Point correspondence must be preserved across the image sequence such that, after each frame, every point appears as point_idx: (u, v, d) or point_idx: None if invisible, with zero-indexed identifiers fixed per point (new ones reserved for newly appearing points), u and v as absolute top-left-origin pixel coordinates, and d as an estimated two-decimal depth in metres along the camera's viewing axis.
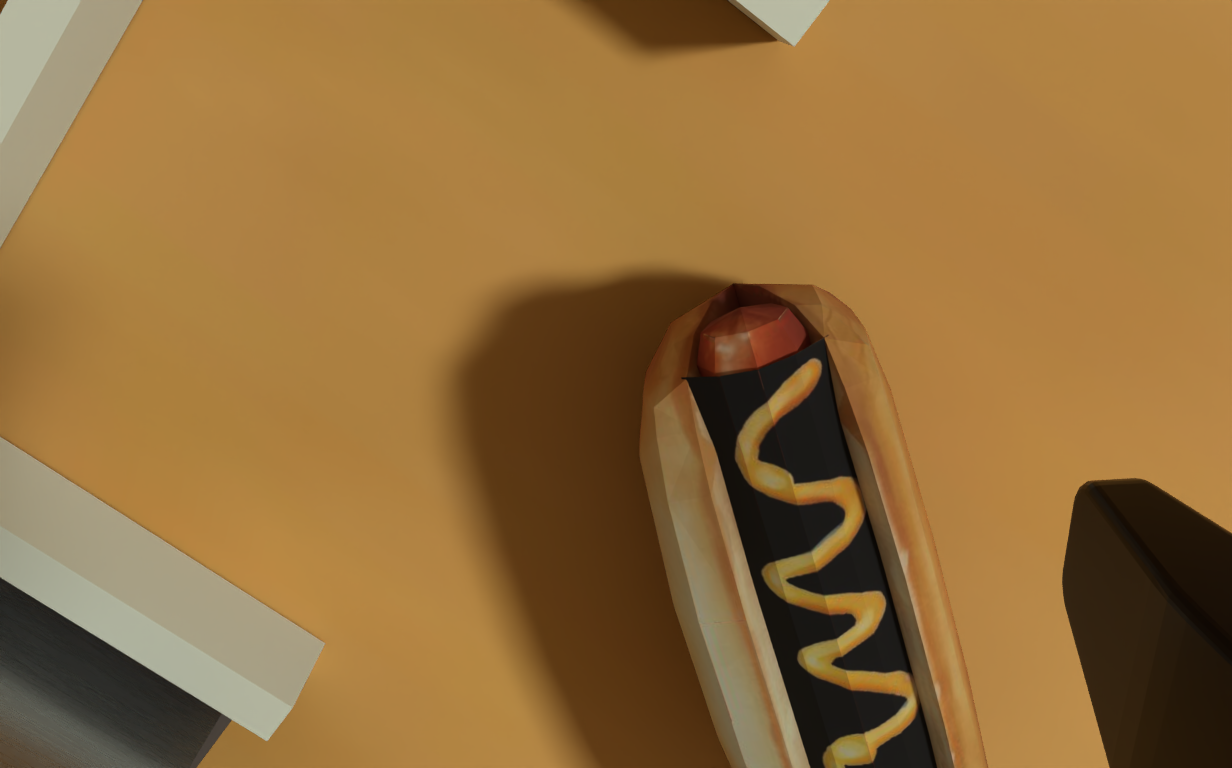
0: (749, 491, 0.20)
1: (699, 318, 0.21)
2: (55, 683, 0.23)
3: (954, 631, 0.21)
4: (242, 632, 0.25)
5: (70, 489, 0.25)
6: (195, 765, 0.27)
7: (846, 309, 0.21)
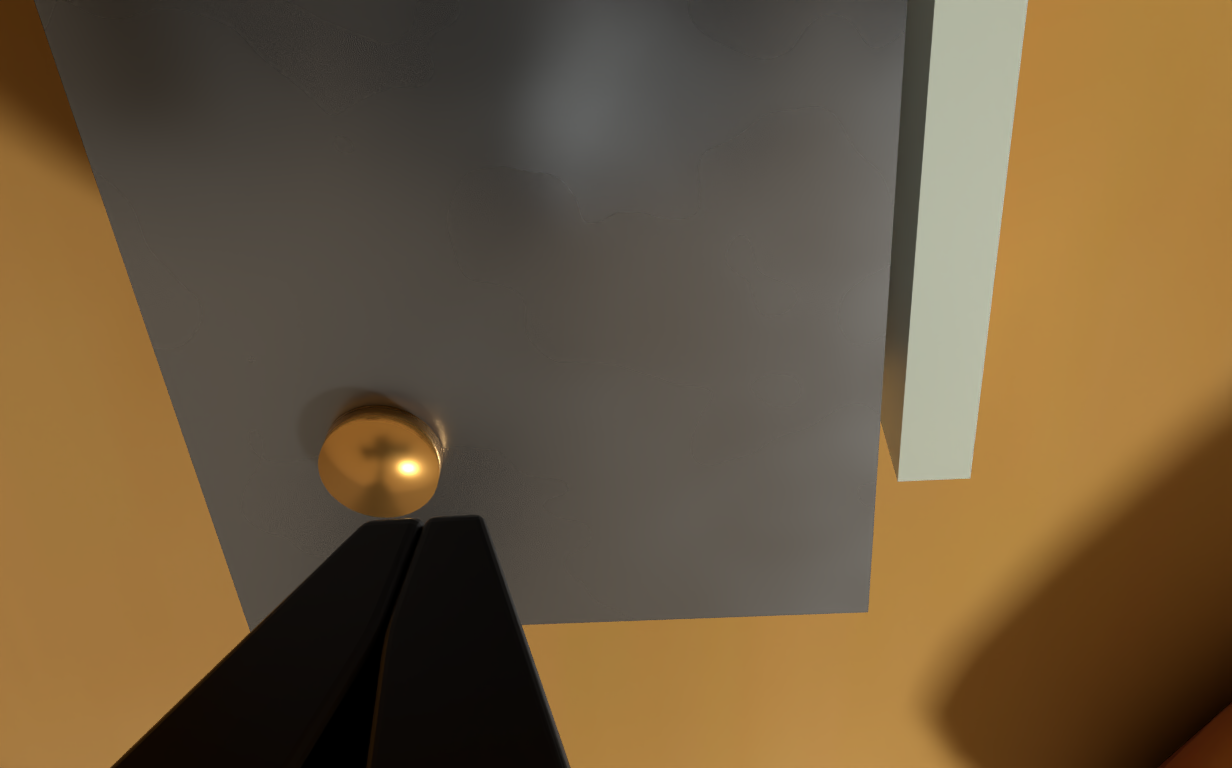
0: None
1: None
2: None
3: None
4: None
5: None
6: None
7: None
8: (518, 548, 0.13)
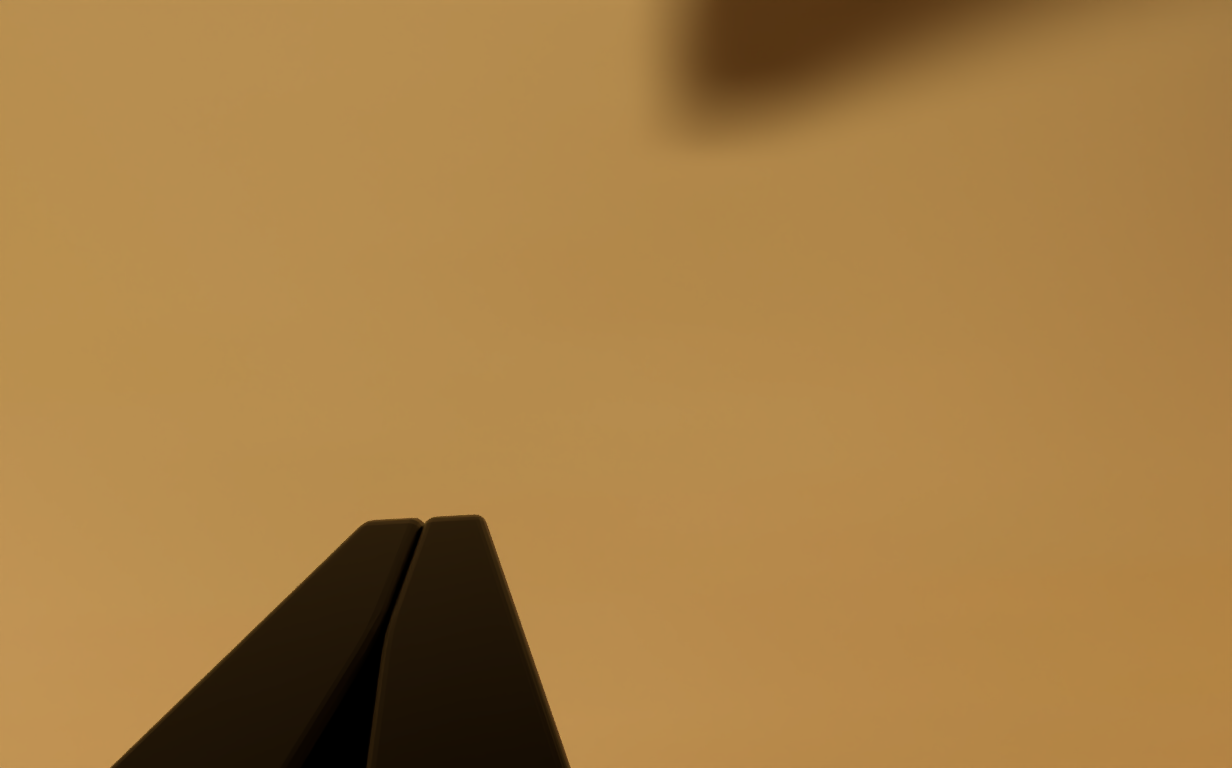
0: None
1: None
2: None
3: None
4: None
5: None
6: None
7: None
8: None
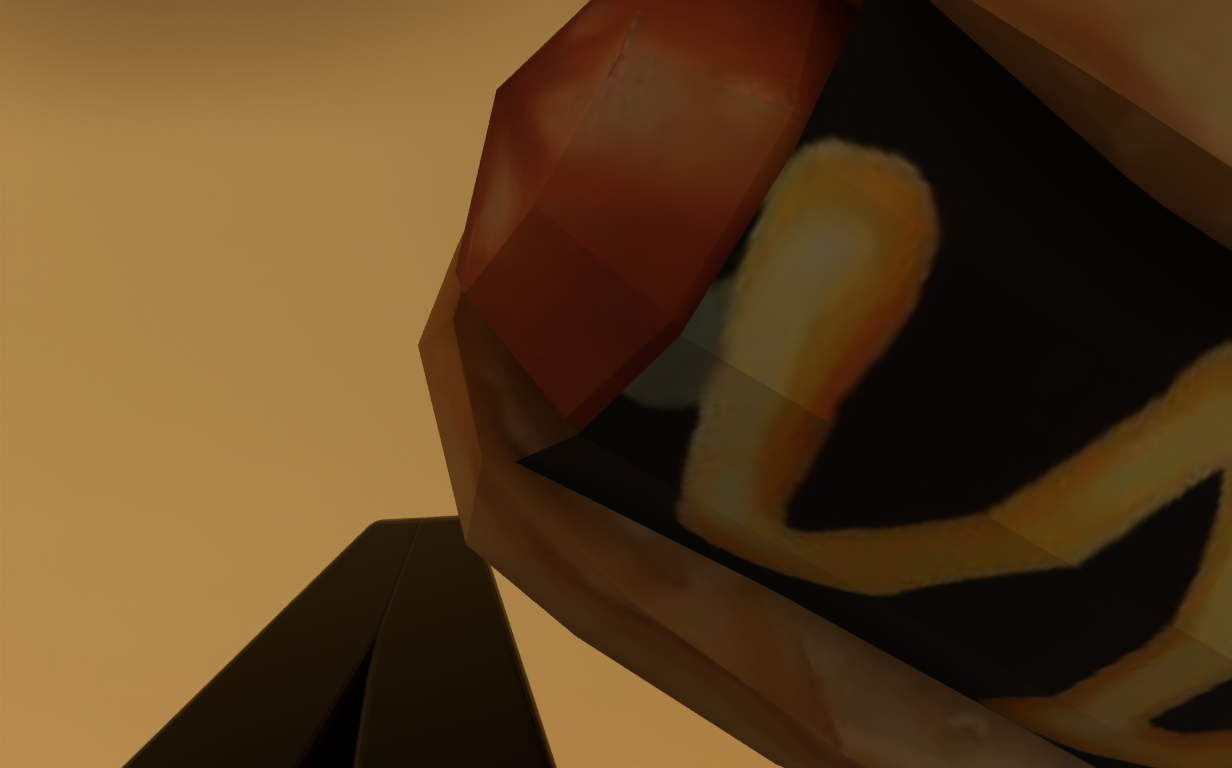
0: None
1: None
2: None
3: None
4: None
5: None
6: None
7: None
8: None
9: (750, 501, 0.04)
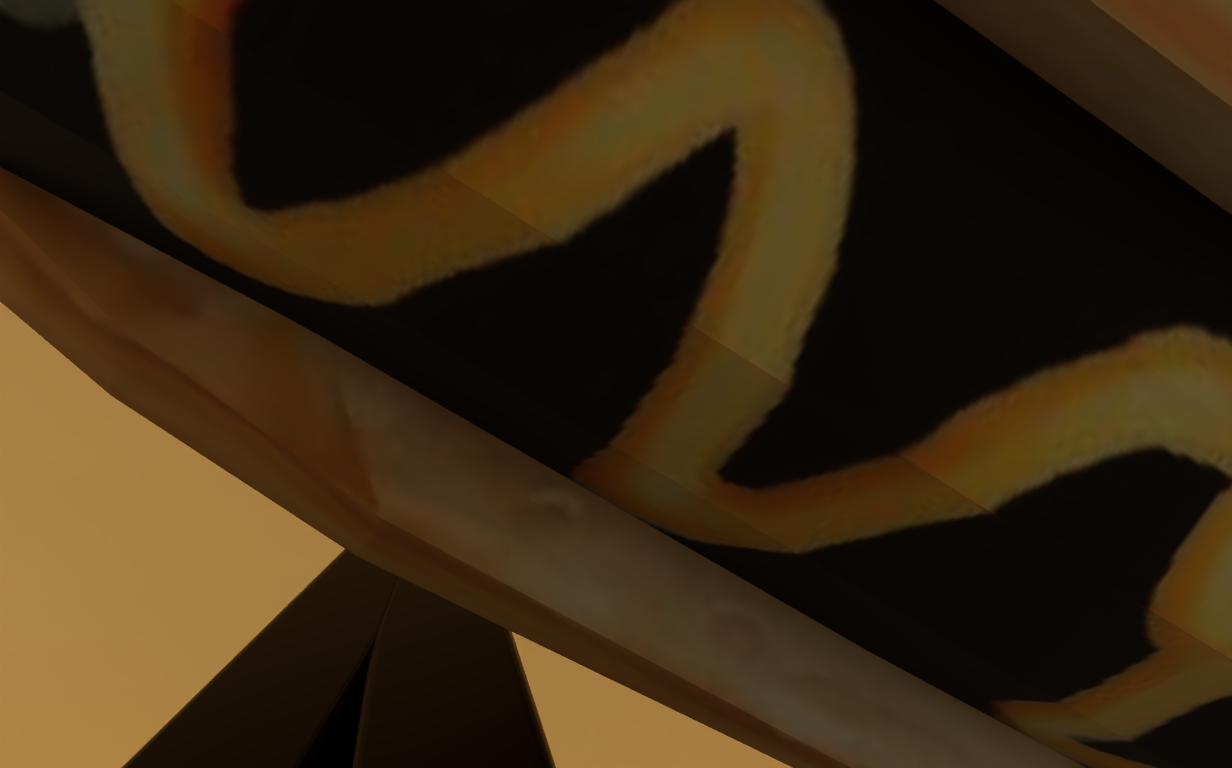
0: None
1: None
2: None
3: None
4: None
5: None
6: None
7: None
8: None
9: (193, 168, 0.04)
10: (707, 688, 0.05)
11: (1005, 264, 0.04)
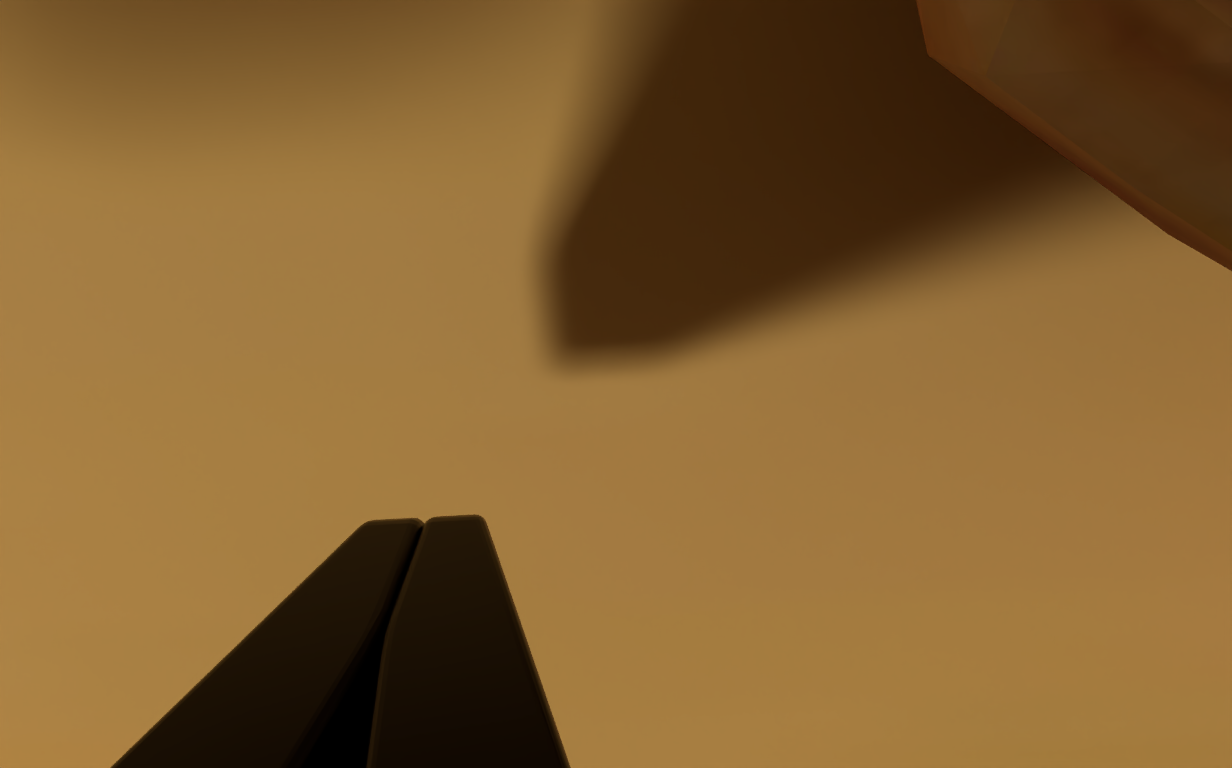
0: None
1: None
2: None
3: None
4: None
5: None
6: None
7: None
8: None
9: None
10: None
11: None
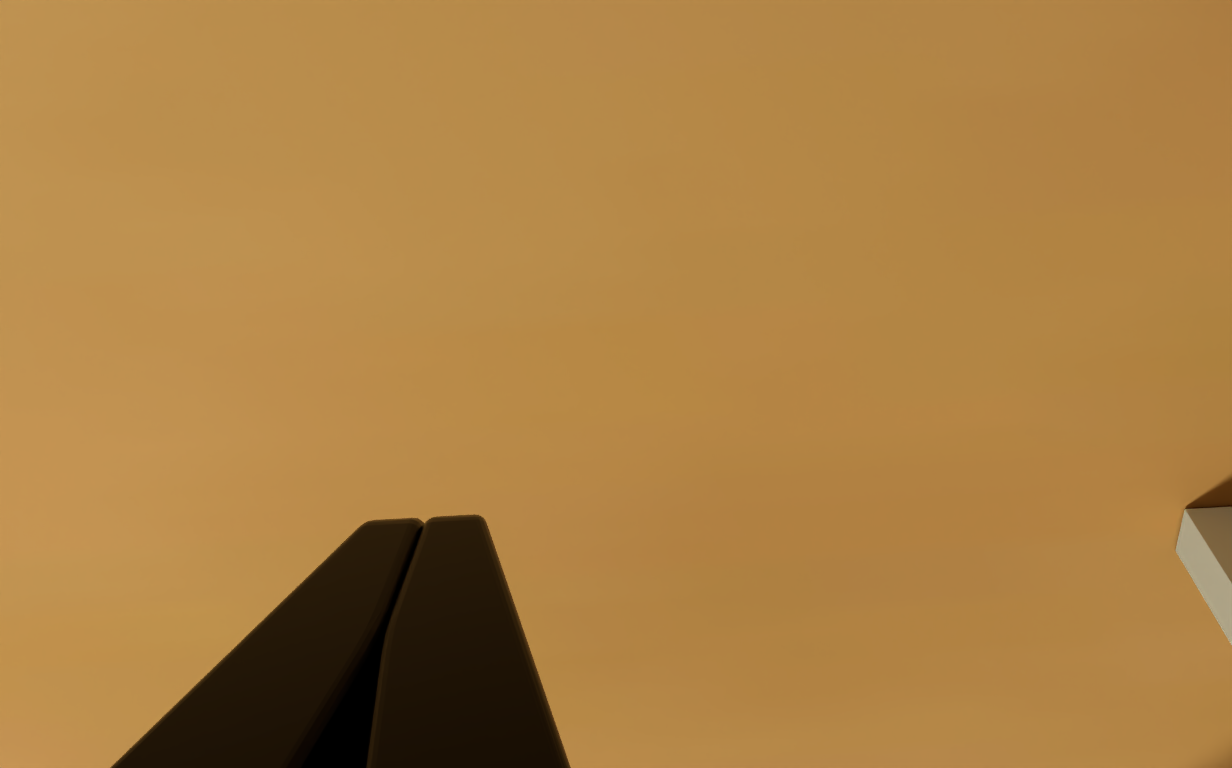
0: None
1: None
2: None
3: None
4: None
5: None
6: None
7: None
8: None
9: None
10: None
11: None
